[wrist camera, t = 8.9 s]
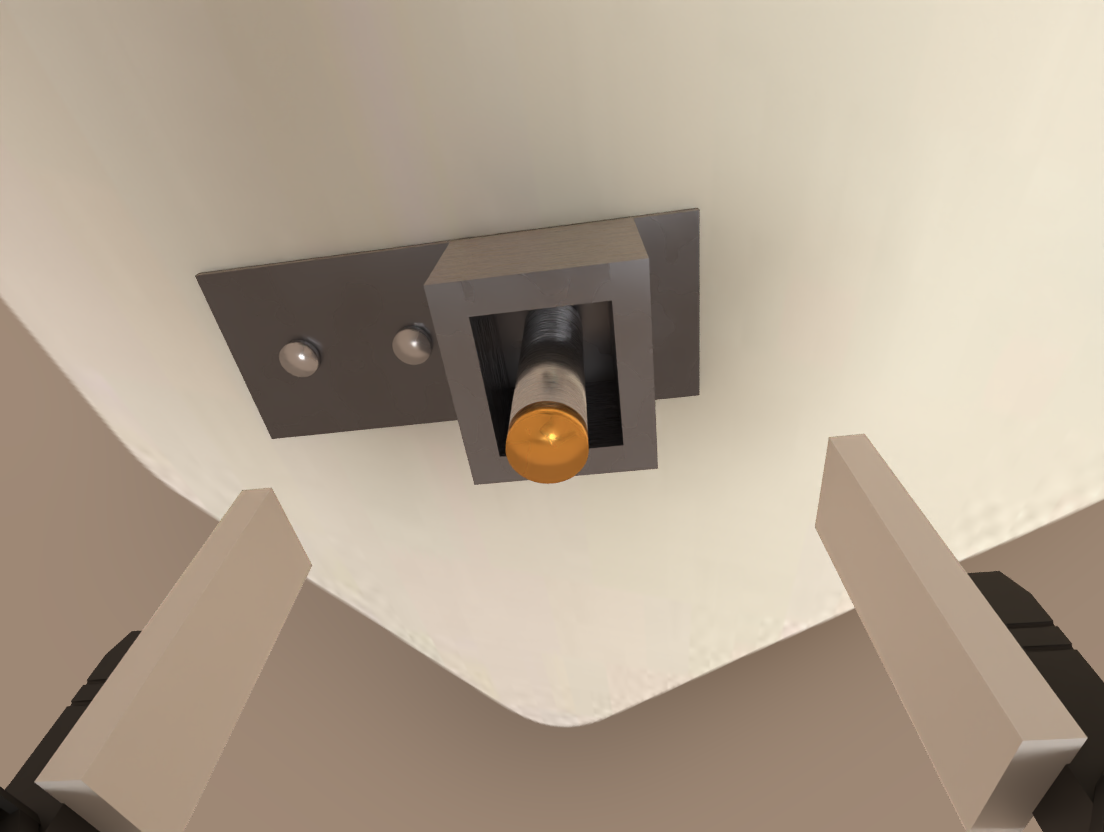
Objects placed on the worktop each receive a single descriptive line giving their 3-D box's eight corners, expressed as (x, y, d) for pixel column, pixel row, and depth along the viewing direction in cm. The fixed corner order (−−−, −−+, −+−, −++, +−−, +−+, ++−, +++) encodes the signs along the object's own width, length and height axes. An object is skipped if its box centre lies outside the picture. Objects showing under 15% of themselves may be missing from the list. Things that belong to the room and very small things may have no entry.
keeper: (199, 273, 24) (20, 381, 16) (697, 207, 22) (769, 294, 14) (274, 435, 28) (162, 582, 20) (698, 391, 26) (753, 535, 18)
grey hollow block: (450, 241, 22) (423, 285, 18) (633, 217, 22) (648, 258, 18) (489, 415, 27) (474, 484, 22) (643, 400, 26) (657, 468, 22)
